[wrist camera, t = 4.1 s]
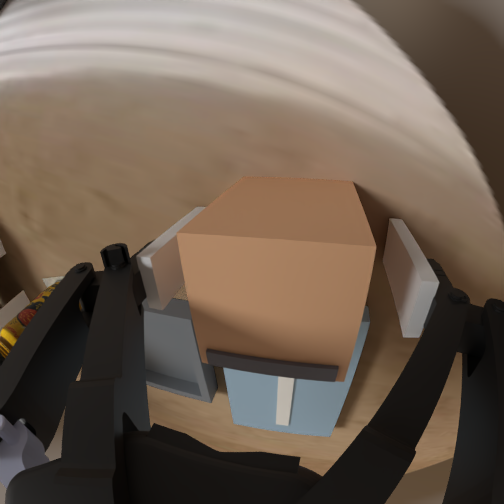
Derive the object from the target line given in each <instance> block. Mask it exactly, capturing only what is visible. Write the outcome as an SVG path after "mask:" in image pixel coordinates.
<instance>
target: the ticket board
mask: <svg viewBox="0 0 504 504" xmlns="http://www.w3.org/2000/svg"><path fill="white" fill-rule="evenodd" d="M369 324H370V317H369V309H368V306H365V308H364V312H363V316H362V320H361V324H360V328H359V332H358V336H357V340H356V343H355V347H354V351H353V354H352V358H351V361H350V364H349V368H348V371H347V374H346V377H345V380H344V382H338V381H335V382H326V381H314V380H304V379H295V378H286V377H279V376H271V375H264V374H258V373H251V372H245V371H239V370H234V369H228V368H223V369H224V374H225V380H226V385H227V391H228V396H229V402H230V407H231V412H232V417H233V422H234V424H238V425H243V426H248V427H254V428H259V429H265V430H272V431H279V432H286V433H294V434H303V435H314V436H327V437H330V436H331V434H332V431H333V429H334V426H335V424H336V422H337V419H338V417H339V414H340V412H341V409H342V407H343V404H344V401H345V399H346V396H347V393H348V391H349V388H350V385H351V382H352V379H353V377H354V374H355V371H356V368H357V365H358V362H359V358H360V355H361V352H362V349H363V345H364V342H365V339H366V335H367V332H368V328H369Z"/></svg>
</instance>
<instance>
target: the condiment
mask: <svg viewBox="0 0 504 504" xmlns="http://www.w3.org/2000/svg"><path fill="white" fill-rule="evenodd" d="M64 277H65V276H62V277H51V278H44V279H43V281H44V283H45V285H46V287H47V289H46V290H45V291H44V292H42V293H41V294H39V295H38V297H37V298H36V299H34V300H33V301H32V302H30V303H29V304H28V305H27V306H26V307H25V308H24V309H23V310H21V312H19V313H18V314H17V315H16V316H15V317H14V318H13V319H12V320H11V321H9V322H8V323H7V324H6V325H5V326H4V327H3V328H2V330H1V334H0V366H1V365H2V363H3V361H4V360H5V358H6V357H7V355H8V353H9V352H10V350H11V349H12V347H13V346H14V344H15V343H16V341H17V340H18V338H19V337H20V335H21V334H22V332H23V331H24V329H25V328H26V326H27V325H28V323H29V322H30V321H31V319H32V318H33V316H34V315H35V314H36V312H37V311H38V310H39V308H40V307H41V306H42V304H43V303H44V302H45V300H46V299H47V298H48V296H49V295H50V294H51V293H52V291H53V290H54V289H55V288H56V286H57V285H58V284H59V283H60V281H61V280H62V279H63V278H64ZM79 308H80V310H81V308H82V307H81V304H80V302H79Z"/></svg>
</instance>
